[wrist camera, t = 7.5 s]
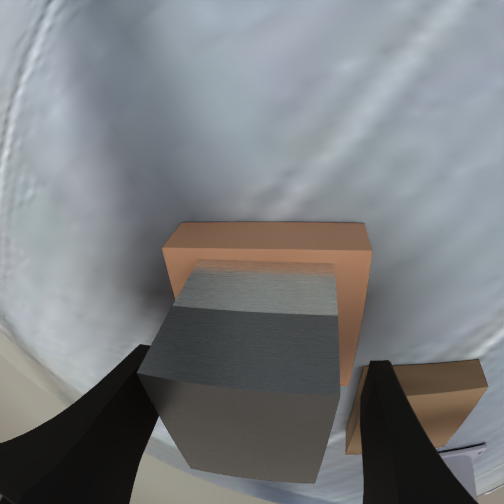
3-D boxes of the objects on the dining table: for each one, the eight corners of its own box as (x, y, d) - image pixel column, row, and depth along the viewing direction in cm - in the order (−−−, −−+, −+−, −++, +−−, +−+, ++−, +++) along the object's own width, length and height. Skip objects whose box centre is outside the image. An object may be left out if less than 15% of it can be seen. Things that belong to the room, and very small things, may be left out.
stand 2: (439, 423, 17) (443, 446, 16) (345, 429, 19) (345, 454, 17) (478, 359, 14) (488, 386, 12) (363, 366, 15) (366, 397, 14)
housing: (321, 378, 13) (314, 483, 9) (221, 371, 14) (190, 468, 10) (334, 263, 10) (340, 395, 6) (198, 259, 11) (136, 372, 7)
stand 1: (347, 353, 15) (348, 385, 13) (208, 346, 16) (198, 375, 15) (364, 223, 11) (372, 250, 10) (181, 222, 13) (161, 247, 11)
